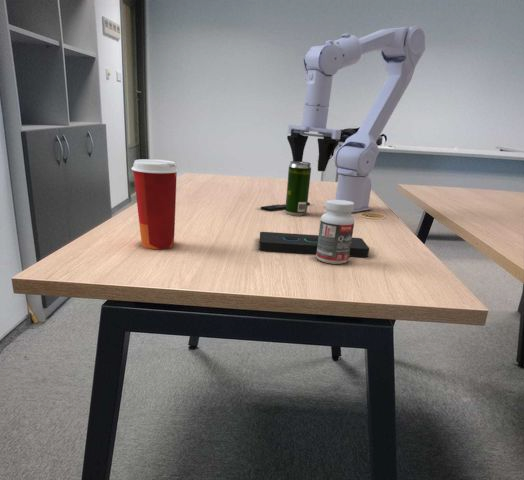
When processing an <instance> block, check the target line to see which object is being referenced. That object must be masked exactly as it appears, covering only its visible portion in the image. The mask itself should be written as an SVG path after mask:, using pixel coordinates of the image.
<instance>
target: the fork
mask: <svg viewBox="0 0 524 480" xmlns="http://www.w3.org/2000/svg"><path fill="white" fill-rule="evenodd" d="M307 206H310V202H308V203H307ZM285 207H286V203H283V204H279V203H277V204H272V205H271V204H270V205H264V206H260V210H264V211H267V212H273V211H280V210H285Z"/></svg>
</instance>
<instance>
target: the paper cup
mask: <svg viewBox="0 0 524 480" xmlns="http://www.w3.org/2000/svg"><path fill="white" fill-rule="evenodd" d="M131 171H133V180H134V190H135V197H136V198H135V199H136V206H137V215H138V224H139V232H140V240H141V246H142V247H143V248H145V249H150V250H166V249H167V250H168V249H171V248H173V247H174V245H175V230H176V229H175V228H176V204H177V202H176V200H177V173H179V169H178V168H177V163H176V161H172V160H167V159H153V158H150V159H149V158H147V159H146V158H145V159H144V158H143V159H141V158H140V159H134V162H133V164H132V167H131Z"/></svg>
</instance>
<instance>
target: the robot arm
mask: <svg viewBox="0 0 524 480" xmlns="http://www.w3.org/2000/svg"><path fill="white" fill-rule="evenodd" d="M425 50H426V35H425V30H424V29H423V28H422V27H421V26H420V25H413V26H403V27H393V28H392V27H390V28H383V29H379V30H377V31H374V32H372V33H369V34H366V35H365V36H362V37H360V38H358V36H356V35H354V34H351V33H349V32H348V33H343V34H341V38H339V39H335V40H333V39H328V40H326V41H325V44H324V45H323V44H322V45H314V46H311V47H310V48H309V49H308V51H307V52H306V54H305V58H302V65H303V69H304V71H305V81H306V86H305V95H304V101H303V102H304V103H303V111H302V121H301V125H296V124H288V126H287V134H289V135H287V137H286V139H287V141H288V144H289V147H290V151H291V155H292V161H302V162H303V158H304V152H305V148H306V145H307V143H308V139H309V137H316V138H317V146H318V160H317V172H326V170H327V167H328V164H329V162H330V160H331V157H332V155H333V153H334V151H335V150H336V148H337V147H338V145H339V142H340V141H339V140H341V135H342V130H341V129H334V128H327V124H328V117H329V107H330V100H331V94H332V93H331V92H332V85H333V78H334V76H335V75H336V74H337V73H338V71H339V70H342V69H344V68H347V67H350V66H353V65H356V64H357V63H358V62H359V61H360V59H361V57H362V55H365V54H369V53H372V52H375V51H377V52H379V54H380V56H381V60H382V63H383V67H384V70H385V72H386V73H387V74H388V75H387V78H386V80H385V81H384V84H383V85H382V87H381V88H380V90H379V92H378V93H377V95H376V98H375V99H374V101H373V102H372V105H371V107H370V108H369V110H368V112H367V114H366V115H365V117H364V119H363V120H362V123H361V124H360V126H359V128H358V130H357V132H355V133H353V134H352V135H349V137H347V138H346V139H345V141H344V142H343V143H342V145H341V146H339V147H338V148H337V150H336V151H335V153H334V159H333V162H334V166H335V168H336V169H337V170H336V173H338V176H337V183H336V192H335V199H334V200H346V201H351V202H353V203H354V210H353V211H352V212H351V214H353V213H358V212H363V211H364V212H365V211H369V210H371V209H372V208H371V207H369V206H370V205H369V204H370V198H371V192H372V180H371V177H369V175H370V173H371V172H372V171H373V170H374V167H375V165H376V161H377V157H378V155H379V153H380V149H379V146H378V143H377V141H378V140H379V138H380V136H381V134H382V133H383V131H384V129H385V127H386V125H387V124H388V122H389V121H390V119H391V117H392V115H393V113H394V111H395V109H396V108H397V106H398V104H399V103H400V102H401V101H400V100H401V99H402V97H403V95H404V93H405V92H406V90H407V88H408V86H409V84H410V83H411V81H412V79H413V75H414V73H415V71H416V70H415V69H416V67H417V65H418V63H419V61H420V59H421V58H422V56H423V54H424V52H425ZM310 132H315V133H310Z"/></svg>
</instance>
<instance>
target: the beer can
mask: <svg viewBox="0 0 524 480" xmlns="http://www.w3.org/2000/svg"><path fill="white" fill-rule="evenodd" d="M289 163H290V164H289V165H288V172H287V182H286V183H287V185H286V197H285V204H286V207H285V209H284V212H285V214H286V215H289V216H294V217H303V216H306V214H307V212H308V205H307V203H308V201H309V193H310V192H309V191H310V185H311V184H310V183H311V176H312V175H311V173H312V166H311V162H310V161H303V160H302V161H293V160H291V161H289Z"/></svg>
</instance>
